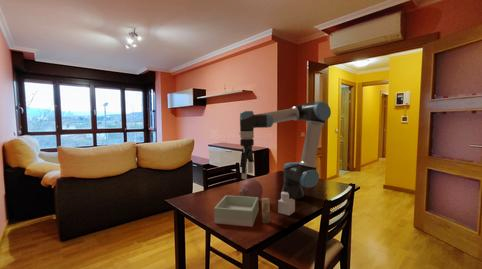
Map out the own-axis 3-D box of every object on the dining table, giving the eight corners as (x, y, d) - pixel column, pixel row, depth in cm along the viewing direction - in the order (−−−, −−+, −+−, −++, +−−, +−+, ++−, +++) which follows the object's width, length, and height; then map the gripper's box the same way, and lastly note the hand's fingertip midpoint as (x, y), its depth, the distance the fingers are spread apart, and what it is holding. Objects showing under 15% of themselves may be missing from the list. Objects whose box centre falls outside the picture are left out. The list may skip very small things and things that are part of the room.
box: (258, 210, 132) (258, 197, 131) (252, 226, 113) (252, 211, 112) (225, 208, 137) (225, 195, 136) (214, 223, 117) (214, 208, 117)
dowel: (270, 220, 119) (270, 198, 119) (269, 223, 116) (269, 200, 115) (262, 219, 120) (262, 197, 120) (261, 222, 117) (261, 200, 116)
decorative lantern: (228, 205, 142) (228, 181, 140) (249, 196, 156) (249, 174, 155) (247, 211, 131) (246, 185, 130) (267, 201, 146) (267, 178, 145)
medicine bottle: (283, 208, 134) (283, 189, 133) (295, 211, 130) (295, 191, 129) (277, 212, 129) (277, 192, 128) (289, 216, 124) (289, 194, 123)
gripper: (246, 136, 140) (246, 170, 141) (233, 140, 116) (234, 181, 117) (258, 136, 138) (258, 171, 139) (247, 140, 114) (248, 182, 115)
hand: (247, 175), depth 128 cm, fingers open, 13 cm apart
